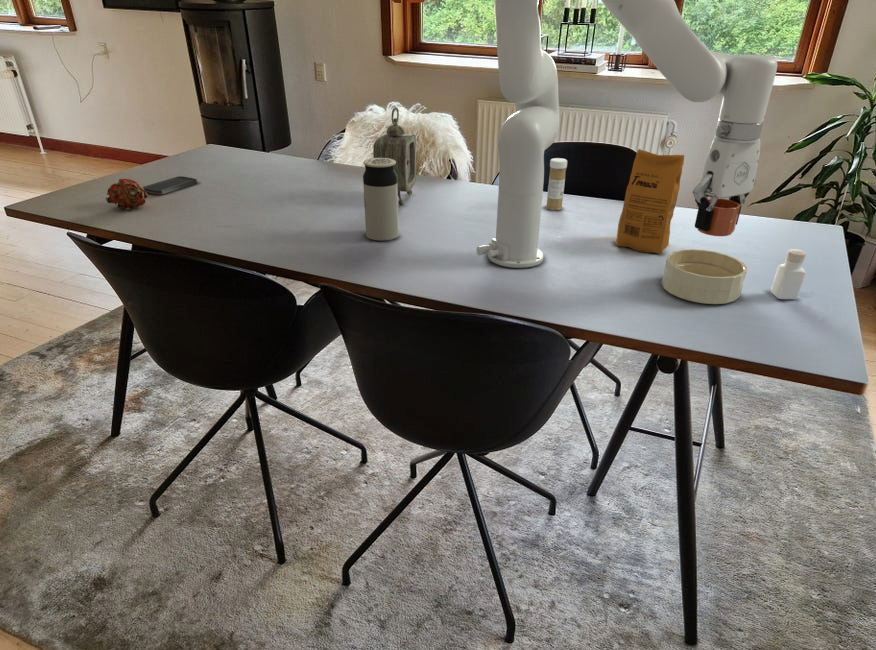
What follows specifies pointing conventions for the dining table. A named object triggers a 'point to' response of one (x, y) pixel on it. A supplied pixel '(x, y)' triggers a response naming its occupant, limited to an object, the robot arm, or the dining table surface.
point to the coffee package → (650, 202)
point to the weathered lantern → (399, 154)
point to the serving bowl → (704, 276)
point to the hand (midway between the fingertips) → (715, 225)
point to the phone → (169, 185)
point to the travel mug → (380, 199)
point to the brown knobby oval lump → (126, 194)
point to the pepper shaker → (789, 276)
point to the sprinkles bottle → (556, 183)
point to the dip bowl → (723, 218)
